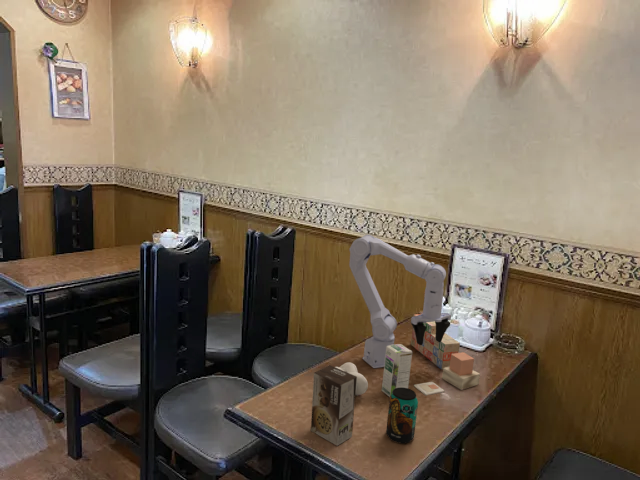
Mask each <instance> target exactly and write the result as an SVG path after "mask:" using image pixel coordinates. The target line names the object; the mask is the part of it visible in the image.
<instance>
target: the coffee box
mask: <svg viewBox="0 0 640 480" xmlns="http://www.w3.org/2000/svg"><path fill="white" fill-rule="evenodd" d="M335 367H336V366H334V365H331V364H329V365H327V366H324V367H322V368H321V369H319V370H316V371H315V372H313V384H312V400H311V402H312V403H311V404H312V406H311V422H310V432H312V433H314V434H315V433H316V435H317V436H319V437H321V438H322V439H325V440H326V441H327V442H330V443H331V444H333V445H335V446H336V447H338V446H339V445H341V444H342V443H344V442H346V441H347V440H349V439H351V438H352V437H353V428H354V415H355V407H356V405H355V404H356V395H355V393H356V380H357V377H356V376H354V375H352V374H349V373H347V372H345V371H342V370H340V369H338V368H335Z"/></svg>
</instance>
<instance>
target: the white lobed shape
mask: <svg viewBox="0 0 640 480" xmlns="http://www.w3.org/2000/svg"><path fill="white" fill-rule="evenodd" d="M334 367H335V368H338V369H340V370H342V371H345V372H347V373H349V374H352V375H354V376H356V377H357V380H356V393H355V396H362V395H363V394H365V393H366V391H367V390H368V388H369V383H368V380H367V378H366V377H365V376H364V375H363V374H362V373H360V372H358V368H357V366H356V364H354V363H353V362H345V363H342V365H340V366H334Z"/></svg>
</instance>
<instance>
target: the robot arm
mask: <svg viewBox="0 0 640 480" xmlns="http://www.w3.org/2000/svg"><path fill="white" fill-rule="evenodd" d="M348 250H349V253H350V254H349V263H348V265H349V269H350V270H351V273H352V276H353V278H354V280H355V283H356V284H357V286H358V289H359V291H360V294H361V296H362V298H363V301H364V303H365V305H366V307H367V309H368V311H369V314H370V324H371V326H372V327H371V329H372V331H371V332H372V336H371V337H369V338H367V339H366V340H365V342H364V349H363V350H364V351H363V357H362V360H363V361H364V362H366V363H367V364H368V365H369V366H370V367H371V368H373V369H379V368H384V365H385V355H386V347H387V346H389V345H395V334H394V331H395V330H396V329H397V326H398V322H397V320H396V318H395V317H394V316H393V315H392V314H391V312H390V310H389V309H388V308H386V307H385V305H384V302H383V301H382V298H381V296H380V294H379V291H378V290H377V287H376V285H375V282H374V281H373V278H372V276H371V274H370V271H369V269H368V268H367V263H368V261H369V259H370V257H371V256H378V255H382V256H384V257H386V258H389V259H390V260H391V259H392V260H393V261H395V262H397V263H400V264H402V265H403V266H404V269H405V271H407V272H409V273H411V274H413V275H415V276H417V277H419V278H421V279H424V281H425V284H426V285H425V290H424V301H423V310H422V313H420V315H418V316H415V317H414V316H411V321H410V323H411V325H412V328H414V331H415V335H416V340H417V343H418V344H419V345H422V344H423V338H424V333H425V331H426V328H427V327H426V326H424V324H423V323H425V322H433V321H435V324H436V335H435V339H436V341H438V342H441V341H442V338H443V336H444V334H445V333H446V331H447V330H448V329H449V327H450V326H451V320H452V314H451V313H448V312H442V309H443V301H444V300H443V299H444V292H445V291H444V287H445V285H444V284H445V283H444V281H445V279H446V278H447V271H446V269H445V267H444V266H442V265H441V264H435V262H433V261H431V262H430V261H429V260H426V259H425V258H422V255H420V254H418V253H417V254H414V253H412V254H410V255H408V254H406V253H405V252H403V251H401V250H399V249H397V248H396V247H394V246H392V245H390V244H389V243H388V242H385V241H383V240H382V239H380V238H378V237H375V236H373V235H370V234H365V235H363V236H362V237H361V236H360V237H358V238H356V239H354V240H353V242H352V244H351V245H350V247H349V249H348Z"/></svg>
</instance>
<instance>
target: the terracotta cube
mask: <svg viewBox="0 0 640 480" xmlns="http://www.w3.org/2000/svg"><path fill="white" fill-rule="evenodd" d="M474 361H475V358H474V357H472V356H470V355H469V354H468V353H466V352H464V351H463V352H458V353H455V354H451V359H450V367H449V369H451V370H452V371H454V372H455V373H457V374H458V375H466V374H472V371H473V370H474Z"/></svg>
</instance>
